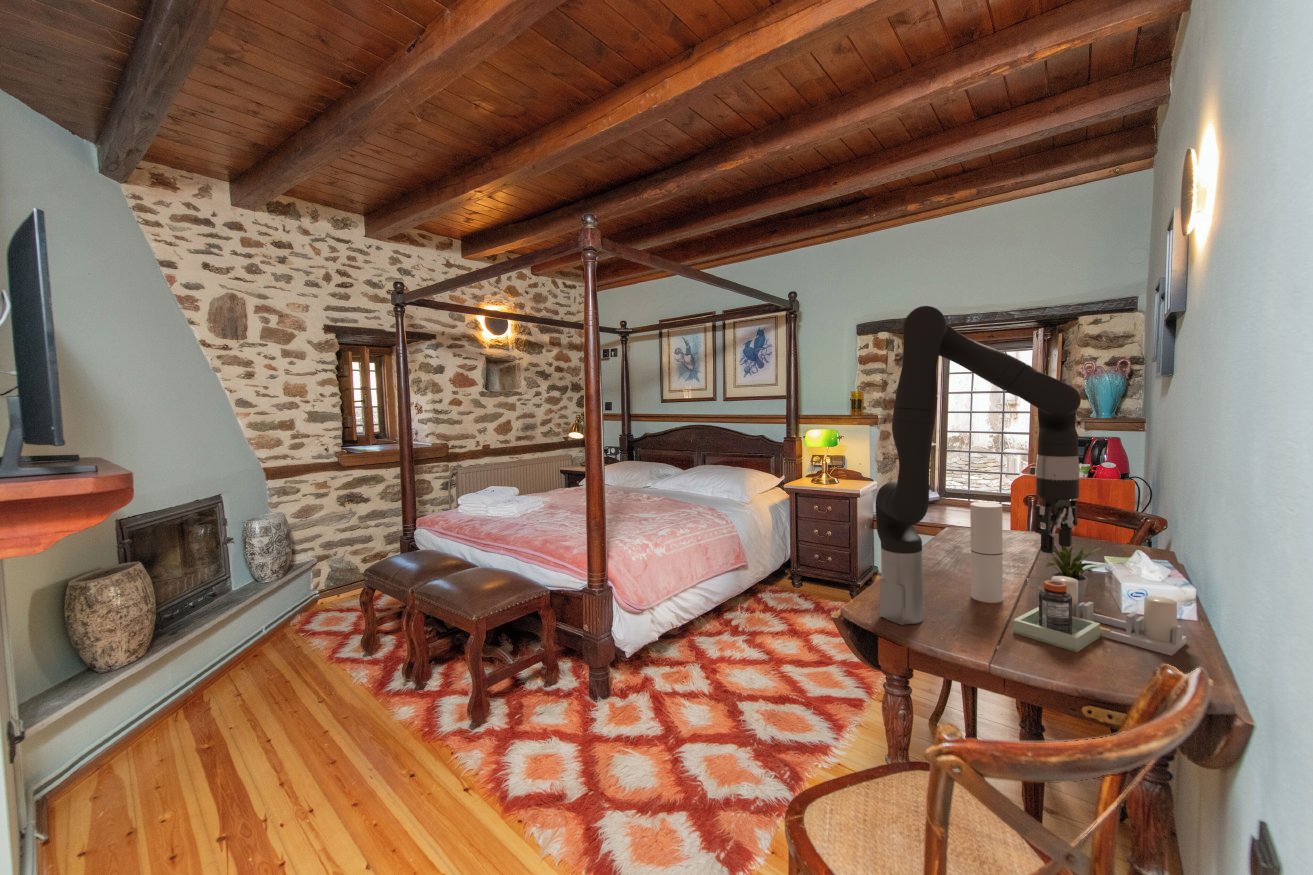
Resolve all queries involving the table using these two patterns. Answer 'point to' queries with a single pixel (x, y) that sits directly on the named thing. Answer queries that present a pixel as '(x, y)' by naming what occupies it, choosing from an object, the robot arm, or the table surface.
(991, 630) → the table surface
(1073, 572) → the house plant
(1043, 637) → the tray
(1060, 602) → the pill bottle
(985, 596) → the cylindrical container
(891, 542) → the robot arm
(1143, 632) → the block
